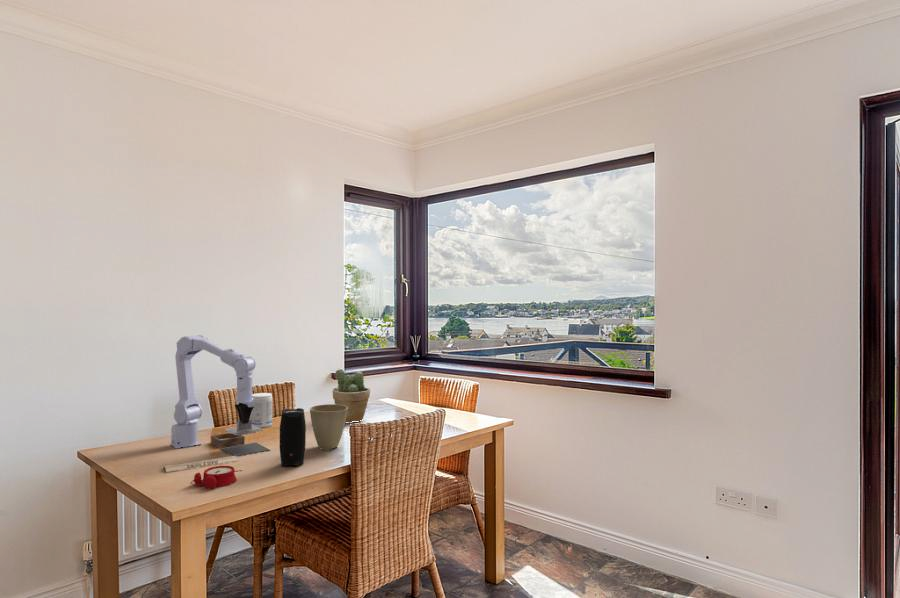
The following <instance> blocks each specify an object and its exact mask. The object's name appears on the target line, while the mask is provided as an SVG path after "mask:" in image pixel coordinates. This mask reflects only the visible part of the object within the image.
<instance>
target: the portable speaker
mask: <svg viewBox="0 0 900 598" xmlns="http://www.w3.org/2000/svg"><path fill="white" fill-rule="evenodd" d="M306 426H307V425H306V416H305V409H304V408H299V407H297V408H292V409H289V408H284V409H282V410H281V416H280V423H279V457H280V464H281V465H280V466H281V467H284V468H286V467H288V466H294V467H295V466H296V467H301V466H303V465H304V460H305V455H306V443H307V442H306V438H307V437H306V436H307V435H306V434H307V433H306V431H307V427H306ZM302 464H303V465H302Z"/></svg>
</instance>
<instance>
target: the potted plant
mask: <svg viewBox="0 0 900 598" xmlns="http://www.w3.org/2000/svg"><path fill="white" fill-rule="evenodd" d="M335 376H336V380H337V387H335V388H333V389H332V398H333V400H334V404H337V405H344V406H347V407H348V410H347V416H346V421H345V422H352V421H360V420H362V419H363V420H364V416H365V413H366V410H367V407H368V402H369V399H370V397H371V396H370V395H371V388H369V387H365V386H366V385H365V381H364V379H365V376H364V373H363V372H362V371H356V372H354V373H353V374H346V373H345V370H344V369H343V368H342V369H341V368H340V369H339V368H338V369H337V370H336V371H335Z"/></svg>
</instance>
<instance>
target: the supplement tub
mask: <svg viewBox="0 0 900 598" xmlns="http://www.w3.org/2000/svg"><path fill="white" fill-rule="evenodd" d="M252 398H255V400H253V402H254V408H253V410H252V412H251V415H250V420H252V424H253V425H255V426H257V427H260V428H262V427H263V428H268V427H271V426H272V425H273V394H272V393H270V392H257V393H252ZM263 428H262V429H263Z"/></svg>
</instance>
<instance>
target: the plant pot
mask: <svg viewBox="0 0 900 598" xmlns="http://www.w3.org/2000/svg"><path fill="white" fill-rule="evenodd" d="M347 410H348V407H347V406H344V405H337V404H335V403H334V404H331V403H329V404H319V405H318V404H317V405H313V406H311V407H309V414H310V420H311V426H312V430H313V435H314V437H315V441H316V444H317V447H318V449H320V448H322V449H321V450H323V449H331V448H335V447H337V446H338V447H339V444H340V442H341V439H342V435H343V432H344V428H345V424H346V423H345V421H346V416H347ZM338 447H337V448H338ZM335 449H336V448H335ZM331 450H332V449H331Z"/></svg>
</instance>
